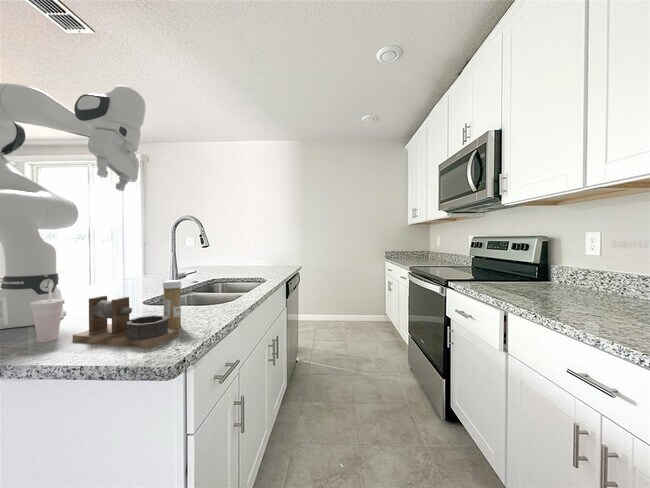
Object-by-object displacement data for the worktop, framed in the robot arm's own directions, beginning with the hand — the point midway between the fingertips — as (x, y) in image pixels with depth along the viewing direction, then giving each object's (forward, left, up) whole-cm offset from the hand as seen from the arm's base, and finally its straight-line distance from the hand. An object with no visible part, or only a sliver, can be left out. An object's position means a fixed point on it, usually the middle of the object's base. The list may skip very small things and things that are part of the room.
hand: (111, 183), depth 85 cm
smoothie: (-6, -12, -41) cm, 43 cm away
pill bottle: (+17, +3, -41) cm, 45 cm away
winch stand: (+12, -7, -41) cm, 43 cm away
